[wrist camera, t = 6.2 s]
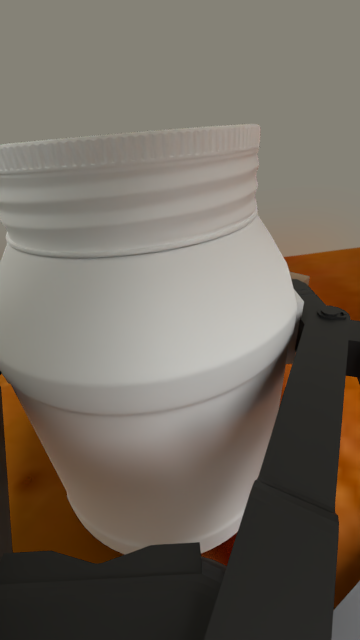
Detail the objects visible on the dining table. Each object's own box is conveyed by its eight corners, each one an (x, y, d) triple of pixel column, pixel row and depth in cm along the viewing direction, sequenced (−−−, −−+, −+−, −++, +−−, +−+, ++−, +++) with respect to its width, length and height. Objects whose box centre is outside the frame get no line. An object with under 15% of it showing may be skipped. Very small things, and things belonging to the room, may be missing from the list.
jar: (291, 544, 12) (418, 104, 4) (61, 579, 12) (-257, 162, 4) (227, 365, 22) (230, 129, 14) (99, 381, 22) (29, 146, 14)
